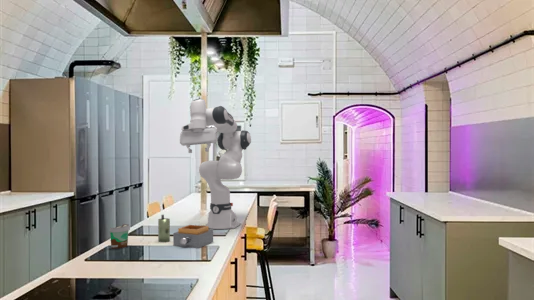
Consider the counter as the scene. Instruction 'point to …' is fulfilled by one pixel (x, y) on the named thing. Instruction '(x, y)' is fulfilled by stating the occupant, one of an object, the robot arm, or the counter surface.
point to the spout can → (163, 229)
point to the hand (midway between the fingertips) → (198, 152)
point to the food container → (119, 236)
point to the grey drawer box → (193, 236)
